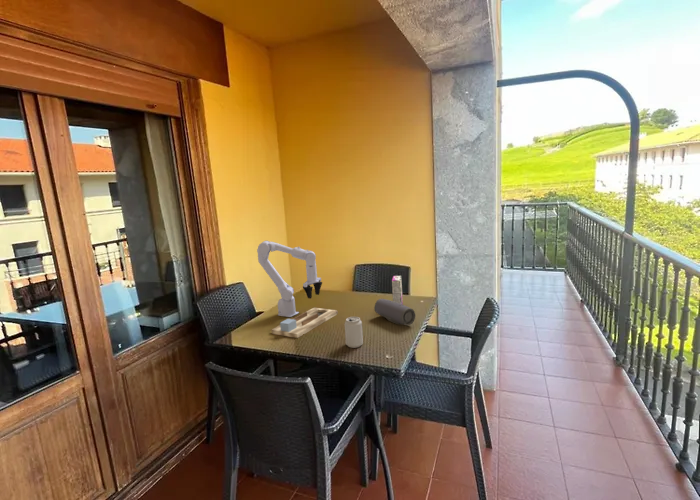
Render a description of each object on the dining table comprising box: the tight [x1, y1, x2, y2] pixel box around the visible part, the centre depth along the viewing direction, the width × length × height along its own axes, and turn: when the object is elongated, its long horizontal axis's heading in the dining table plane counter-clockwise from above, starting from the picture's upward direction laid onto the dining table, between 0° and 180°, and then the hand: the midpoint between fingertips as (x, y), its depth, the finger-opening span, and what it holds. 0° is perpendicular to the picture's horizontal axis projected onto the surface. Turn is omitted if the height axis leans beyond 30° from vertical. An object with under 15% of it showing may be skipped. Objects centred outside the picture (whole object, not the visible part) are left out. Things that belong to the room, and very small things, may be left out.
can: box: [344, 316, 364, 349], centre depth 157 cm, size 8×8×12 cm
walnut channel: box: [292, 311, 318, 326], centre depth 187 cm, size 8×13×2 cm, turn 150°
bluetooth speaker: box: [373, 298, 416, 326], centre depth 183 cm, size 23×9×10 cm, turn 32°
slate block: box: [279, 318, 297, 332], centre depth 176 cm, size 5×6×4 cm
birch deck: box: [270, 307, 339, 339], centre depth 189 cm, size 16×36×2 cm, turn 150°
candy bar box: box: [391, 275, 404, 305], centre depth 207 cm, size 11×5×16 cm, turn 168°
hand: (313, 296), depth 204 cm, fingers open, 7 cm apart
